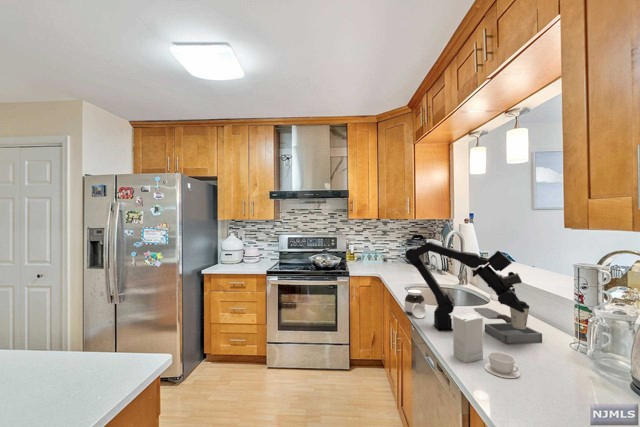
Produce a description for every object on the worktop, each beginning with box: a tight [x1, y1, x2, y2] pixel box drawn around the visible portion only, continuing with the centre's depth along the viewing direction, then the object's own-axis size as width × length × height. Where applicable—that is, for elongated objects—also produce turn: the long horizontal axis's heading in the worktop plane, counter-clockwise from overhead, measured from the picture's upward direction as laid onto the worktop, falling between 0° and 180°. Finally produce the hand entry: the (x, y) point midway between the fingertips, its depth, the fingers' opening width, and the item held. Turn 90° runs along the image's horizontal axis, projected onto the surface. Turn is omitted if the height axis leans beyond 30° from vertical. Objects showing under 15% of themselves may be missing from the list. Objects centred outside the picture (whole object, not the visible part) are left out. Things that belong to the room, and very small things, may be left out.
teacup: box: [483, 351, 521, 379], centre depth 96 cm, size 10×10×5 cm
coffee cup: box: [509, 299, 531, 329], centre depth 118 cm, size 7×7×10 cm
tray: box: [484, 322, 543, 345], centre depth 123 cm, size 16×13×4 cm
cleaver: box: [474, 307, 512, 323], centre depth 147 cm, size 29×10×2 cm, turn 4°
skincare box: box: [452, 312, 484, 363], centre depth 105 cm, size 8×6×15 cm
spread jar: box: [404, 289, 427, 319], centre depth 151 cm, size 12×11×12 cm
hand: (523, 309), depth 118 cm, fingers closed on coffee cup, 7 cm apart
